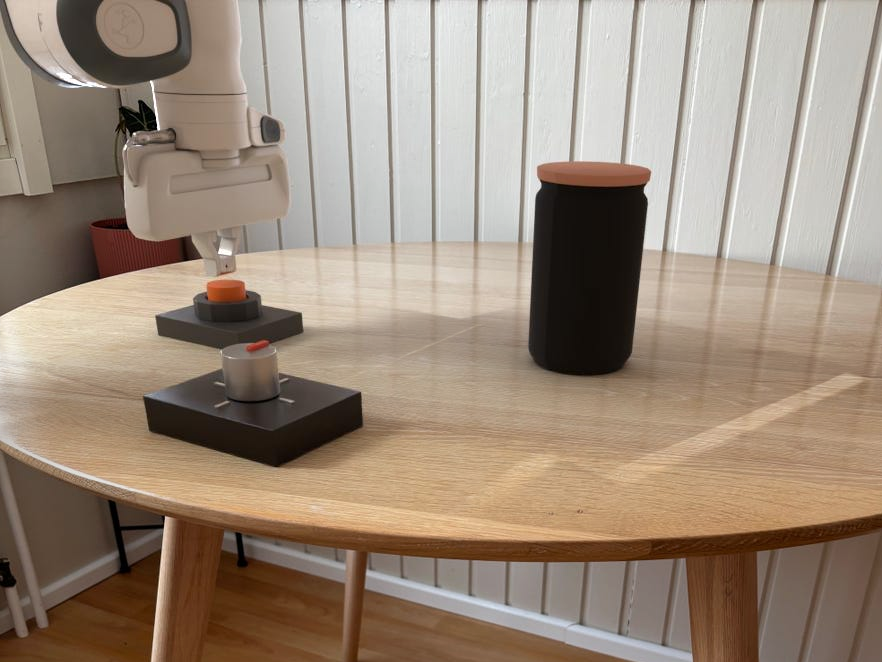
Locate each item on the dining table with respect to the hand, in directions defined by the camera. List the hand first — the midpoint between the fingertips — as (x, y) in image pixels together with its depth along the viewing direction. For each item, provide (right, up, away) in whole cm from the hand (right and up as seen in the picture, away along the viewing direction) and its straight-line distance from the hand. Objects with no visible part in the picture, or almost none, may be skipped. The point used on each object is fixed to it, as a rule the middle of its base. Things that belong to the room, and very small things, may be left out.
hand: (221, 274), depth 100 cm
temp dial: (+9, -18, -22) cm, 30 cm away
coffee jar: (+38, -10, -2) cm, 39 cm away
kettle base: (0, -5, +3) cm, 6 cm away
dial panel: (+9, -21, -20) cm, 31 cm away
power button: (0, -2, +1) cm, 3 cm away
